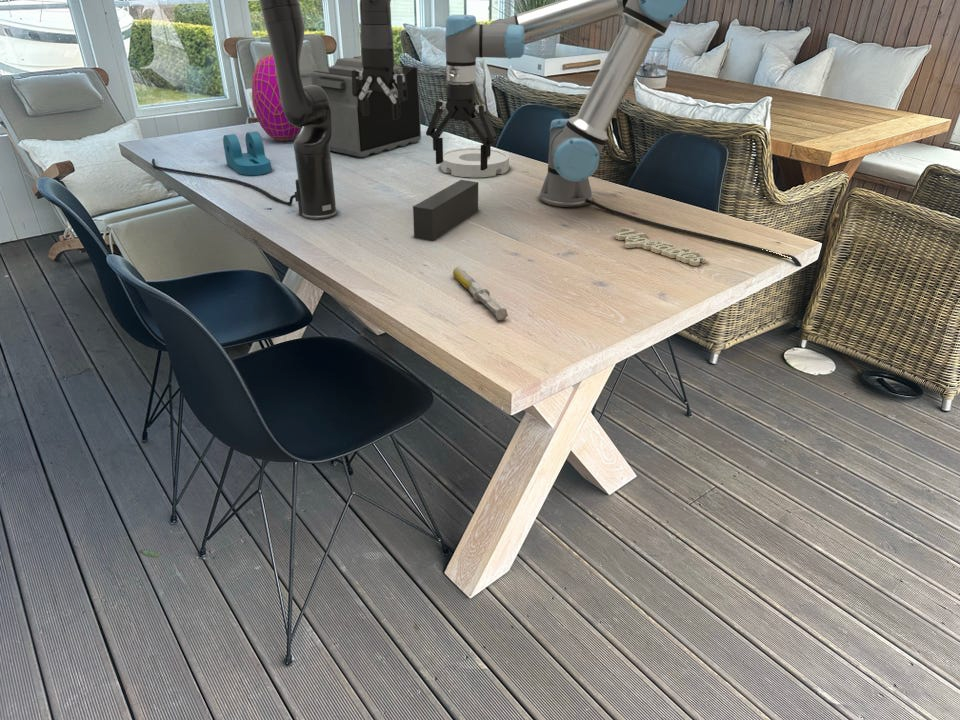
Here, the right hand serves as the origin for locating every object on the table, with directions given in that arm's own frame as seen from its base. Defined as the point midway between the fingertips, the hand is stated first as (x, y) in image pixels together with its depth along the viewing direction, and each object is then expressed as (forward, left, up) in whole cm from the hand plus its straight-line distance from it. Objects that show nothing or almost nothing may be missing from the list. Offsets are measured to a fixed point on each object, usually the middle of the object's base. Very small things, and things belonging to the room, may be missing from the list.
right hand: (461, 166), depth 186 cm
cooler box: (+65, -54, -13) cm, 85 cm away
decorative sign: (-55, +4, -13) cm, 57 cm away
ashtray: (+17, -43, -13) cm, 48 cm away
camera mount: (+83, -9, -13) cm, 84 cm away
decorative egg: (+99, -46, -13) cm, 110 cm away
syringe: (-28, +48, -13) cm, 57 cm away
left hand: (+13, +19, +15) cm, 27 cm away
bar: (-1, +10, -13) cm, 16 cm away
